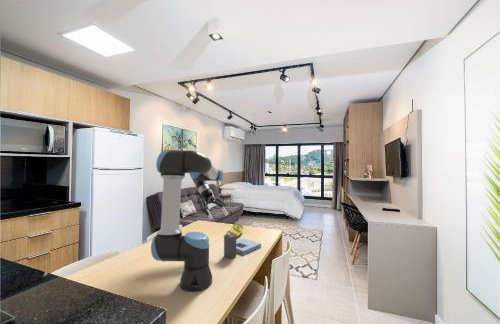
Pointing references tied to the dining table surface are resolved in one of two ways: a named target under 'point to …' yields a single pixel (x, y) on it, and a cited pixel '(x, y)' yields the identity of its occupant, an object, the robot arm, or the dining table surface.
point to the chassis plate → (246, 246)
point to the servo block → (230, 245)
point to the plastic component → (236, 230)
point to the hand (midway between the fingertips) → (219, 217)
